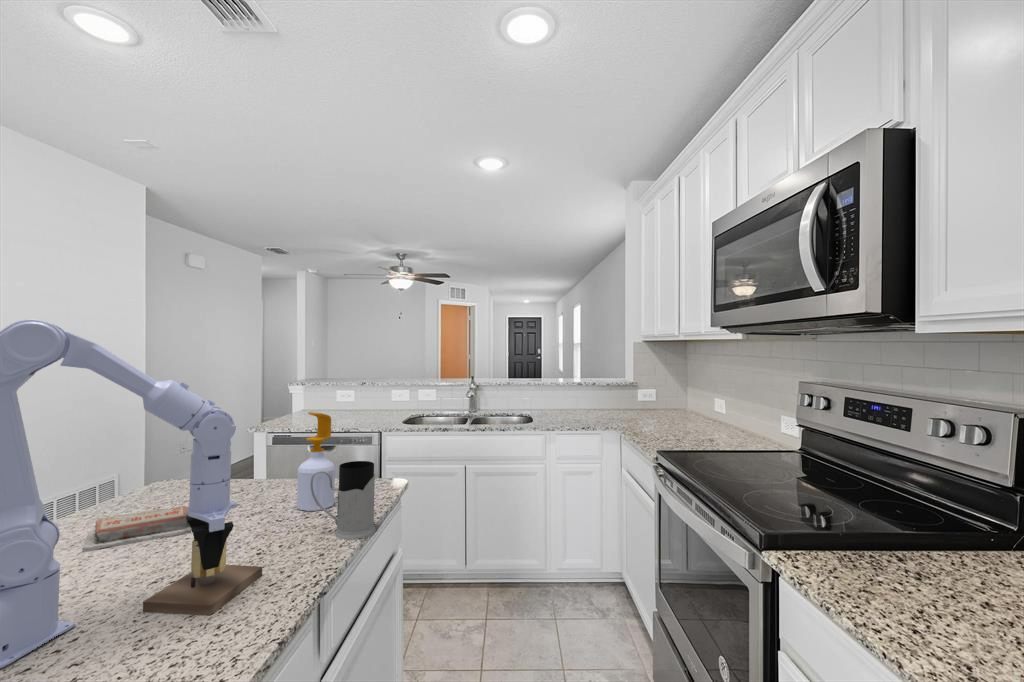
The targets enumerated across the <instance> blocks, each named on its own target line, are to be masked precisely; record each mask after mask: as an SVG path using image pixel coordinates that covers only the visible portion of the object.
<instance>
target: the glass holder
mask: <svg viewBox="0 0 1024 682" xmlns="http://www.w3.org/2000/svg"><path fill="white" fill-rule="evenodd" d="M338 467H339V468H338V470H339V471H338V488H335V487H334V488H333V487H332V478H331V476H330V474H329V473H327V472H326V471H319V472H316V473H315V474H314V475H313V476H312V478H311V493H312V496H313V498H314V500H315V502H316V504H317V505H318V506H319V507H320V508H321V509H322V510H321V511H323V512H324V513H326V514H327V515H329V516H330V517H331V518H332V519H333V520H334V521H335V525H336V530H335V532H334V537H336V538H338V539H341V540H360V539H365V538H367V537H370V536H372V535H374V534H375V532H376V530H377V529H376V527H375V521H374V520H375V487H376V486H375V485H376V484H375V482H376V481H375V476H376V475H375V474H376V473H375V462H372V461H369V460H368V461H367V460H355V461H347V462H343V463H340V464H339V466H338ZM318 473H325V474H326V475H327V476H328V477H329V480H330V488H331V489H332V490H334V492H335V491H337V514H336V515H337V517H336V516H335V515H334V514H332V513H331V512H330V511H329V510H327V509H325V508H324V507H322V506H321V505H320V503H319V502H318V501H317V499H316V497H315V495H314V491H313V478H314V476H315V475H316V474H318Z"/></svg>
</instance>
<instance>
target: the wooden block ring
mask: <svg viewBox="0 0 1024 682" xmlns="http://www.w3.org/2000/svg"><path fill="white" fill-rule="evenodd" d="M227 541H228V540H226V542H225V545H224V548H223V552H222V556H221V560H220V563H219V566H218V567H216V568H212V569H208V570H203V567H202V564H201V558H200V550H199V545H198V542H197V539H195V540H194V539H193V540H192V541H191V562H190V563H191V566H190V572H194V577H193V578H201V577H202V576H204V572H205V575H206V577H209V576H213V575H214V573H220V572H222V571H223V570H224V568H226V565H227Z"/></svg>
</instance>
